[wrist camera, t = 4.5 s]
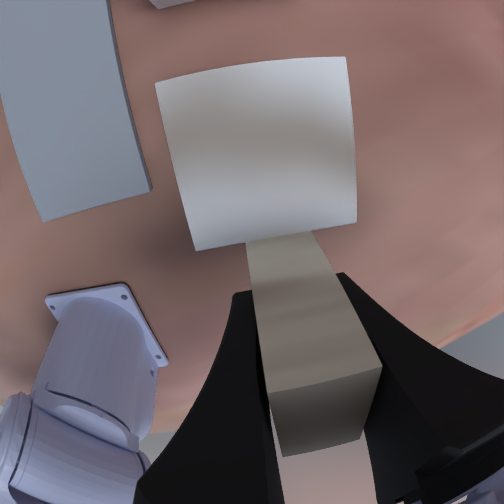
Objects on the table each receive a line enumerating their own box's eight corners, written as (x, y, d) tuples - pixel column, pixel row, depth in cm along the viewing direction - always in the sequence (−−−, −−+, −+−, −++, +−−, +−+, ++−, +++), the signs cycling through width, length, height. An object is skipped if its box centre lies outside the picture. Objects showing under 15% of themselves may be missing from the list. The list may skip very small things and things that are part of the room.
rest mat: (152, 188, 16) (150, 192, 16) (46, 218, 16) (42, 222, 16) (103, -55, 7) (99, -59, 7) (-5, 6, 8) (-10, 6, 7)
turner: (347, 293, 13) (410, 421, 7) (219, 317, 14) (223, 464, 7) (336, 58, 8) (490, 40, 2) (159, 83, 8) (45, 77, 2)
